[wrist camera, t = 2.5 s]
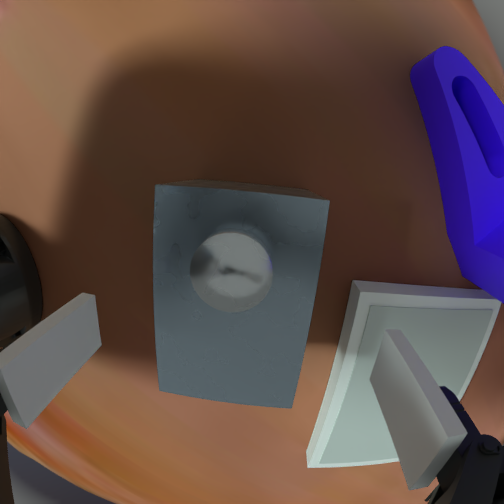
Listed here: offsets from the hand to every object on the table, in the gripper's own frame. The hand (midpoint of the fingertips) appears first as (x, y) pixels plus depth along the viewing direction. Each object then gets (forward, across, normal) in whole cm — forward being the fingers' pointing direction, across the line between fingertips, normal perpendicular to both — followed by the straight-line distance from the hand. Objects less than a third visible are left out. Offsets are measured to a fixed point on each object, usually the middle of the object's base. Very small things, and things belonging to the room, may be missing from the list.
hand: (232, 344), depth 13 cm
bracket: (+12, +18, +11) cm, 24 cm away
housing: (+12, -1, 0) cm, 12 cm away
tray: (+12, +16, -11) cm, 22 cm away
